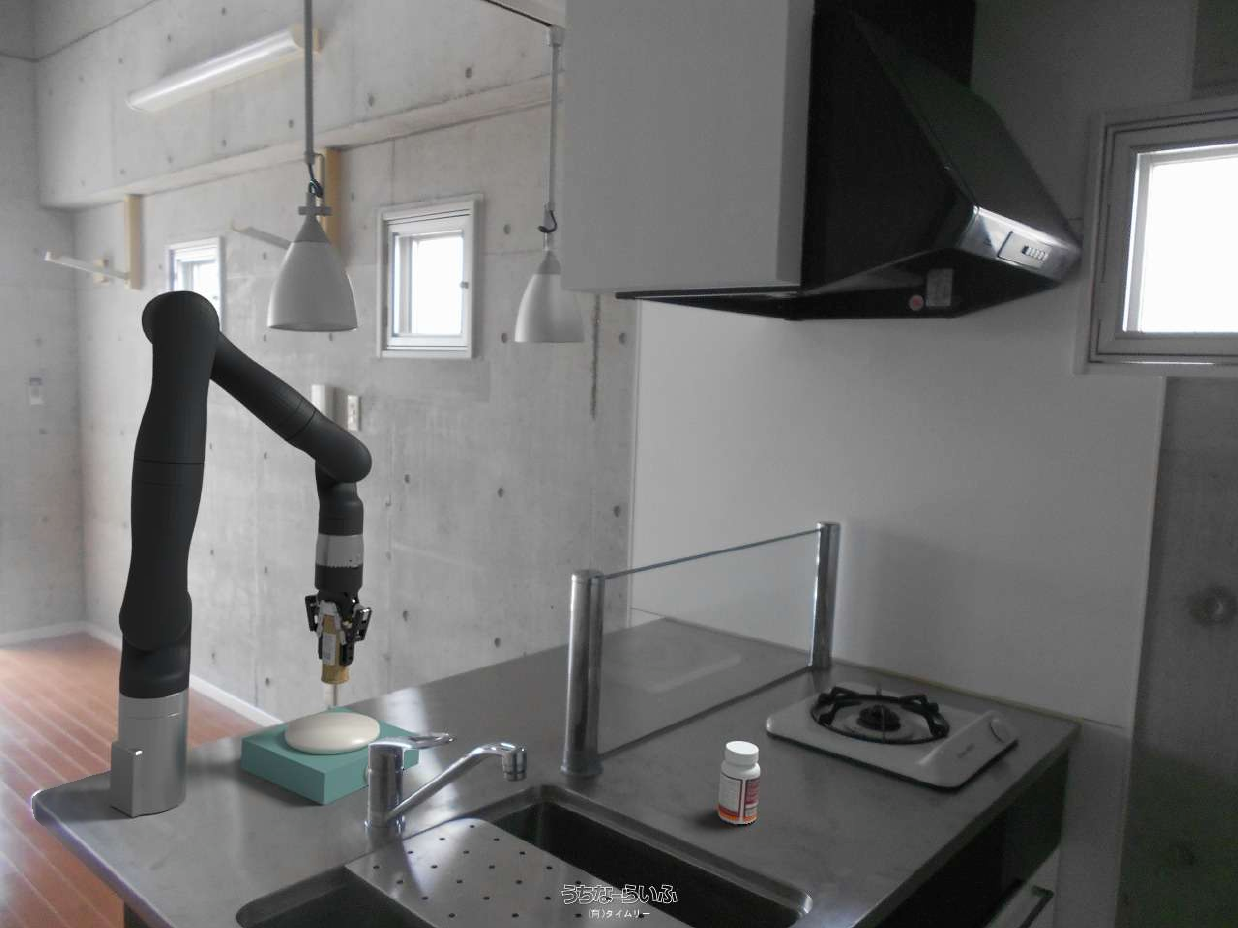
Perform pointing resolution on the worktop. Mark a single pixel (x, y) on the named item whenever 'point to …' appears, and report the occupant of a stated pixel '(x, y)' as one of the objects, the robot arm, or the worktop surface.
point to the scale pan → (331, 733)
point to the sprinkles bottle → (332, 650)
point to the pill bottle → (739, 783)
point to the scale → (314, 763)
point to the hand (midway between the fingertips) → (335, 661)
